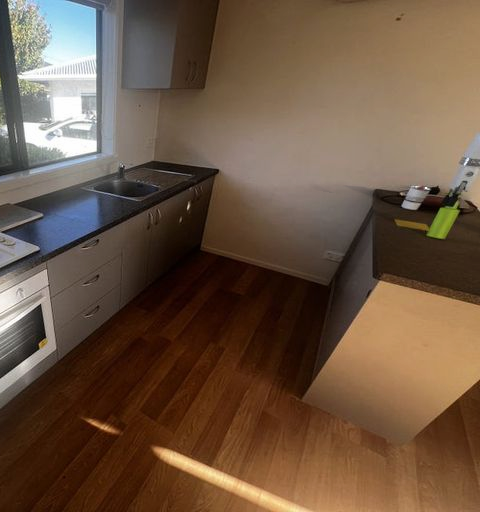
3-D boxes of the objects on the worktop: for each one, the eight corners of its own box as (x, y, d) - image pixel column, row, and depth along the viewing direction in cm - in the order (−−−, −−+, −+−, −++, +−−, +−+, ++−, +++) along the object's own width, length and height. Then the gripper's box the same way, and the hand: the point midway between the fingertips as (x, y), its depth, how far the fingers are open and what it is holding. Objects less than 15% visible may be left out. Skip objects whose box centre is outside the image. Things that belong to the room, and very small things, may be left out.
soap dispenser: (422, 233, 138) (444, 191, 131) (444, 237, 133) (467, 194, 126) (423, 235, 134) (445, 192, 127) (445, 239, 129) (469, 194, 122)
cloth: (426, 224, 147) (426, 224, 147) (430, 231, 140) (430, 230, 140) (394, 219, 153) (394, 219, 153) (396, 225, 146) (397, 225, 146)
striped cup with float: (423, 211, 164) (436, 190, 158) (406, 209, 166) (418, 189, 160) (411, 205, 173) (423, 185, 167) (395, 204, 174) (406, 184, 168)
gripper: (491, 167, 112) (462, 211, 121) (482, 161, 123) (456, 202, 132) (463, 164, 117) (437, 207, 126) (456, 158, 128) (433, 199, 137)
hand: (447, 204), depth 129 cm, fingers closed on soap dispenser, 3 cm apart
